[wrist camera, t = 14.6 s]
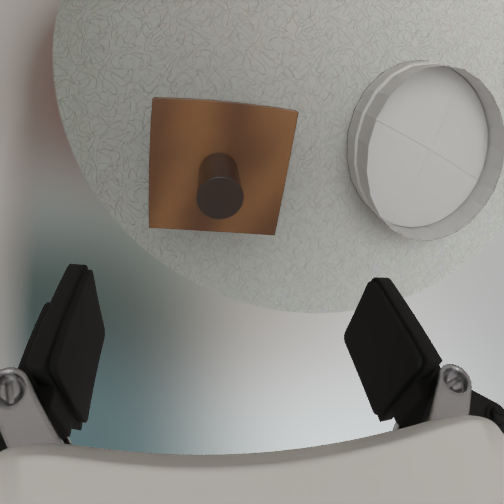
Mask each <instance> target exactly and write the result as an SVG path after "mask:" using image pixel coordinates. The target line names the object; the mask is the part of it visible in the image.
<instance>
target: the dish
mask: <svg viewBox="0 0 504 504" xmlns="http://www.w3.org/2000/svg"><path fill="white" fill-rule="evenodd" d="M503 159H504V127H503V122H502V117H501V113H500V111H499V108H498V106H497V104H496V102H495V100H494V98H493V95H492V94H491V93H490V91H489V90H488V89H487V88H486V87H485V85H484V84H483V83H482V82H481V80H479V79H478V78H476V77H475V76H473V75H472V74H470V73H469V72H467V71H466V70H463V69H459V68H455V67H451V66H449V65H445V64H440V63H436V62H431V61H422V60H419V61H411V62H404V63H400V64H398V65H396V66H394V67H392V68H390V69H388V70H386V71H385V72H383V73H382V74H381V75H380V76H379V77H378V78H377V79H376V80H375V81H374V82H373V83H371V84H370V85H369V86H368V87H367V88H366V90H365V92H364V94H363V95H362V97H361V99H360V101H359V102H358V104H357V106H356V108H355V109H354V113H353V117H352V120H351V124H350V127H349V131H348V144H347V160H348V165H349V170H350V175H351V180H352V182H353V184H354V186H355V188H356V190H357V192H358V194H359V196H360V198H361V199H362V200H363V201H364V202H365V203H366V204H367V205H368V206H369V207H370V209H371V210H372V211H373V212H374V213H375V214H376V215H377V216H378V217H379V218H380V219H381V220H382V221H384V222H386V224H387V225H388V226H389V227H390V228H391V229H392V230H393V231H395V232H397V233H399V234H400V235H402V236H404V237H406V238H408V239H414V240H420V241H429V240H436V239H441V238H444V237H446V236H448V235H451V234H453V233H456V232H457V231H459V230H460V229H461V228H463V227H464V226H465V225H467V224H468V223H470V222H471V221H472V220H473V219H474V218H475V217H476V215H477V214H478V213H479V212H480V211H481V210H482V209H483V208H484V206H485V205H486V203H487V201H488V200H489V198H490V196H491V195H492V193H493V191H494V189H495V187H496V184H497V182H498V179H499V176H500V174H501V170H502V164H503Z"/></svg>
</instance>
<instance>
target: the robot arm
mask: <svg viewBox="0 0 504 504" xmlns="http://www.w3.org/2000/svg"><path fill="white" fill-rule="evenodd" d="M104 337H105V329H104V324H103V320H102V315H101V311H100V306H99V301H98V297H97V292H96V286H95V281H94V276H93V271H92V270H88V267H87V266H86V265H78V264H69V266H68V267H67V269H66V271H65V273H64V275H63V277H62V279H61V281H60V283H59V285H58V287H57V289H56V291H55V294H54V296H53V298H52V300H51V302H50V303H49V302H48V303H46V304H45V305H44V307H43V309H42V311H41V313H40V315H39V318H38V320H37V322H36V324H35V327H34V329H33V331H32V334H31V336H30V339H29V341H28V343H27V346H26V348H25V351H24V354H23V357H22V359H21V362H20V364H19V367H18V369H17V368H14V367H13V368H11V367H9V368H4V369H1V370H0V504H504V409H503V408H502V407H501V406H500V405H498V404H497V403H495V402H493V401H491V400H489V399H488V398H486V397H484V396H482V395H480V394H478V393H476V392H474V391H473V390H471V388H472V386H471V380H470V378H469V376H468V375H467V373H466V372H465V371H464V370H463V369H462V368H460V367H459V366H456V365H454V364H447V365H444V366H443V367H442V368H440V366H439V364H440V363H441V362H442V359H441V358H440V356H439V354H438V353H437V351H436V349H435V348H434V346H433V344H432V343H431V341H430V339H429V338H428V336H427V334H426V333H425V331H424V330H423V328H422V326H421V325H420V323H419V322H418V320H417V319H416V317H415V315H414V314H413V312H412V311H411V309H410V308H409V306H408V305H407V303H406V302H405V300H404V299H403V297H402V296H401V294H400V293H399V291H398V290H397V288H396V287H395V285H394V284H393V282H392V281H391V280H390V279H389V278H373V279H372V281H371V282H369V283H368V284H367V286H366V288H365V291H364V293H363V295H362V297H361V300H360V302H359V304H358V306H357V308H356V310H355V313H354V315H353V317H352V319H351V321H350V323H349V325H348V328H347V329H346V332H345V335H344V340H345V343H346V346H347V348H348V350H349V353H350V355H351V358H352V360H353V362H354V365H355V367H356V370H357V372H358V375H359V377H360V379H361V382H362V385H363V387H364V389H365V392H366V395H367V397H368V400H369V402H370V404H371V407H372V409H373V412H374V413H375V414H376V415H378V417H379V420H380V422H381V421H385V420H389V419H392V418H393V417H394V418H395V420H396V423H395V426H394V428H393V431H390V432H386V433H382V434H378V435H373V436H369V437H364V438H360V439H355V440H350V441H345V442H340V443H334V444H328V445H322V446H316V447H309V448H301V449H293V450H284V451H275V452H264V453H250V454H229V455H228V454H227V455H177V454H157V453H143V452H130V451H129V452H128V451H119V450H110V449H101V448H94V447H86V446H77V445H73V444H72V443H71V441H70V440H69V438H68V437H69V436H70V434H71V429H77V430H81V428H82V422H85V423H86V422H87V420H88V415H89V409H90V403H91V398H92V393H93V387H94V382H95V377H96V372H97V368H98V363H99V359H100V354H101V350H102V345H103V341H104Z"/></svg>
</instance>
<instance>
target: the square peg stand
mask: <svg viewBox="0 0 504 504" xmlns="http://www.w3.org/2000/svg"><path fill="white" fill-rule="evenodd" d="M297 118H298V111H296V110H290V109H284V108H277V107H271V106H263V105H256V104H247V103H238V102H229V101H218V100H205V99H190V98H167V97H154V98H153V100H152V114H151V131H150V155H149V228H165V229H183V230H200V231H217V232H233V233H249V234H264V235H275V231H276V226H277V221H278V216H279V211H280V206H281V201H282V196H283V191H284V186H285V181H286V175H287V170H288V165H289V160H290V155H291V150H292V144H293V139H294V134H295V128H296V123H297Z"/></svg>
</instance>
